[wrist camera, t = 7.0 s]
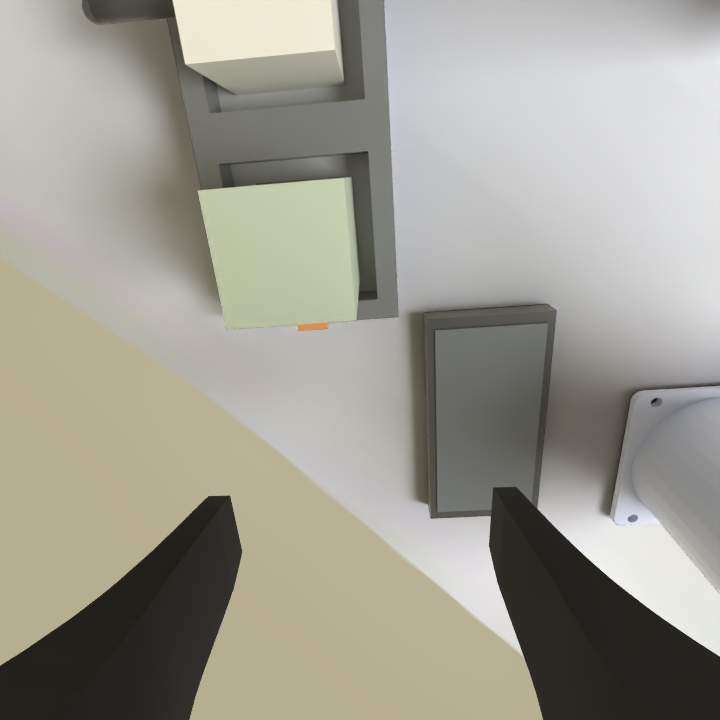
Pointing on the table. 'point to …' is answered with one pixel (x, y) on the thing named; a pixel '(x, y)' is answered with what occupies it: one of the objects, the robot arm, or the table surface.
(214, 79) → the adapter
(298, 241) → the block
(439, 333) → the phone
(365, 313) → the grey double frame
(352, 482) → the table surface
